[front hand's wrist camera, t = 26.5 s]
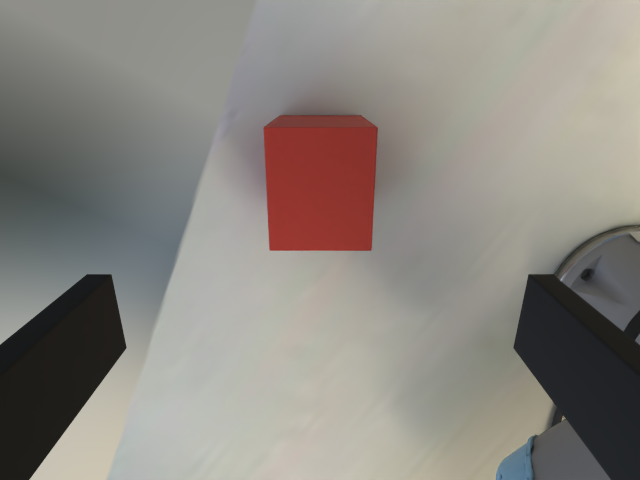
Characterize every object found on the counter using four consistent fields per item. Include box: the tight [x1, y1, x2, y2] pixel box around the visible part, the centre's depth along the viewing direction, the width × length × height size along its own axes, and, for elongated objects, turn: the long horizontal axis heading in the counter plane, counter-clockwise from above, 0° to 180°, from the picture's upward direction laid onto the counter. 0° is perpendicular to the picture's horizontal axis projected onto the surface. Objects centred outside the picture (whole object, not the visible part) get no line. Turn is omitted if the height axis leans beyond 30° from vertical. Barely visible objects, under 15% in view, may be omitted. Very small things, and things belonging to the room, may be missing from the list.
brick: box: [264, 115, 378, 251], centre depth 33 cm, size 9×7×11 cm
